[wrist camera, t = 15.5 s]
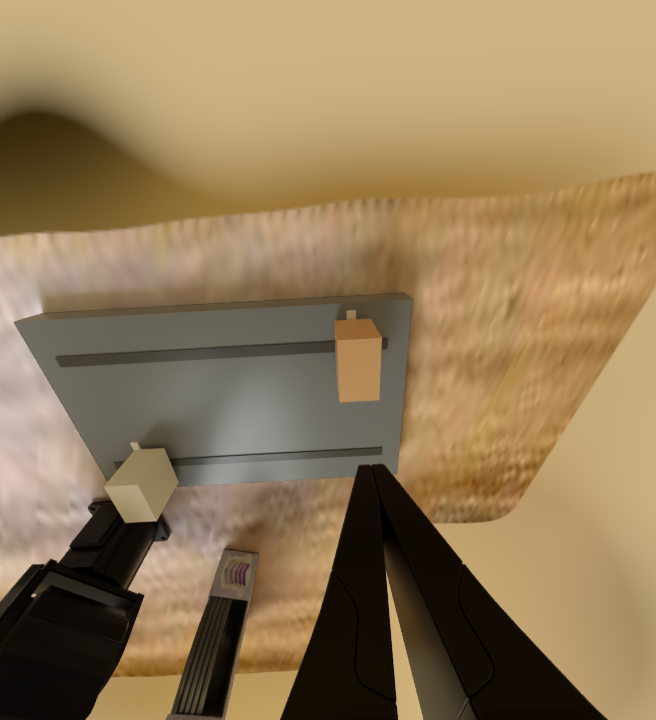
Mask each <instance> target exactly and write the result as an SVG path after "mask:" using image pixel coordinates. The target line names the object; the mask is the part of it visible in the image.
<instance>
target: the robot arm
mask: <svg viewBox="0 0 656 720" xmlns="http://www.w3.org/2000/svg"><path fill="white" fill-rule="evenodd" d="M88 510H89V511H90V513H91V514H92V518H91V519H90V520H89V521H88V523H87V524H86V525H85V526H84V528H83V529H82V530H81V531H80V533H79V534H78V535H77V536H76V538H75V539H74V540H73V541H72V543H71V544H70V549H69V550H68V552H67V553H66V554H65V555H64V557H63V558H62V559H61V560H60V562H59V563H56V562H57V561H55V560H53V559H50V560H49V561H48V562H47V563H46V564H45V565H44V564H33V565H31V566H30V567H29V569H28V570H27V571H26V572H25V573H24V574H23V576H22V577H21V578H20V579H19V580H18V581H17V582H16V584H15V585H14V586H13V587H12V588H11V589H10V591H9V592H8V593H7V594H6V595H5V597H4V598H3V599H2V600H1V601H0V720H85V719H86V718H87V717H88V716H89V714H90V713H91V711H92V709H93V707H94V705H95V702H96V699H97V697H98V695H99V693H100V692H101V691H102V689H103V688H104V687H105V685H106V684H107V682H108V681H109V679H110V677H111V676H112V674H113V672H114V671H115V669H116V667H117V665H118V663H119V661H120V659H121V657H122V655H123V652H124V650H125V647H126V645H127V642H128V639H129V636H130V634H131V631H132V628H133V625H134V623H135V620H136V617H137V615H138V612H139V609H140V606H141V604H142V601H143V598H144V595H143V594H141V593H138V594H137V593H134V592H132V591H129V590H128V588H129V586H130V584H131V583H132V581H133V579H134V577H135V575H136V573H137V571H138V570H139V568H140V566H141V564H142V562H143V560H144V558H145V557H146V555H147V553H148V551H149V549H150V547H151V545H152V544H153V542H156V541H167V540H168V538H169V536H170V534H169V532H168V530H167V528H166V526H165V524H164V522H163V520H162V518H161V516H159V518H158V520H157V521H151V522H132V523H125V521H124V520H123V518H122V516H121V515H120V513H119V512H118V510H117V508H116V507H115V505H114V503H113V502H112V501H107V502H93V503H91V504H90V505H89V507H88ZM462 563H463V562H462V560H461V559H460V558H459V557H458V555H457V554H456V553H455V552H454V550H453V549H452V548H451V547H450V545H449V544H448V543H447V542H446V540H445V539H444V538H443V537H442V535H441V534H440V533H439V532H438V530H437V529H436V528H435V527H434V525H433V524H432V523H431V522H430V520H429V519H428V518H427V517H426V515H425V514H424V513H423V512H422V510H421V509H420V508H419V507H418V506H417V504H416V503H415V502H414V501H413V499H412V498H411V497H410V496H409V494H408V493H407V492H406V491H405V489H404V488H403V487H402V486H401V484H400V483H399V482H398V481H397V479H396V478H395V477H394V476H393V474H392V473H391V472H390V471H389V469H388V468H387V467H386V466H385V465H384V464H382V463H380V464H372V465H370V464H361V465H359V466H358V468H357V472H356V476H355V480H354V484H353V488H352V492H351V496H350V499H349V503H348V507H347V511H346V515H345V519H344V523H343V527H342V531H341V535H340V539H339V543H338V547H337V550H336V554H335V558H334V562H333V566H332V571H331V573H330V577H329V581H328V585H327V589H326V592H325V596H324V599H323V603H322V606H321V610H320V613H319V616H318V619H317V621H316V624H315V627H314V630H313V633H312V636H311V639H310V641H309V644H308V647H307V649H306V652H305V655H304V657H303V660H302V663H301V665H300V668H299V671H298V674H297V676H296V679H295V681H294V684H293V687H292V689H291V692H290V695H289V697H288V700H287V703H286V706H285V708H284V711H283V714H282V716H281V718H280V720H398V714H397V705H396V690H395V677H394V665H393V653H392V641H391V629H390V617H389V605H388V593H387V581H386V572H387V576H388V579H389V584H390V588H391V592H392V596H393V600H394V604H395V608H396V612H397V616H398V619H399V623H400V627H401V632H402V636H403V639H404V643H405V647H406V651H407V655H408V659H409V663H410V667H411V671H412V675H413V679H414V683H415V687H416V691H417V695H418V699H419V703H420V707H421V711H422V715H423V719H424V720H608V719H607V718H606V717H604V716H603V715H602V714H601V713H600V712H599V711H598V710H597V709H596V708H595V707H594V706H593V705H592V704H591V703H590V702H589V701H588V700H587V699H586V698H585V697H584V696H583V695H582V694H581V693H580V692H579V690H578V689H577V688H576V687H575V686H574V685H573V684H572V683H571V682H570V681H569V680H568V679H567V678H566V677H565V676H564V674H563V673H562V672H561V671H560V670H559V669H558V668H557V667H556V666H555V665H554V664H553V663H552V662H551V661H550V660H549V659H548V658H547V656H546V655H545V654H544V653H543V652H542V651H541V650H540V649H539V648H538V647H537V646H536V645H535V644H534V643H533V642H532V641H531V639H530V638H529V637H528V636H527V635H526V634H525V633H524V632H523V631H522V630H521V629H520V628H519V627H518V626H517V624H515V622H514V621H513V620H512V619H511V618H510V617H509V616H508V615H507V613H506V612H505V611H504V610H503V609H502V608H501V607H500V606H499V605H498V604H497V602H496V601H495V600H494V599H493V598H492V597H491V595H490V594H489V593H488V592H487V591H486V589H485V588H484V587H483V586H482V585H481V584H480V582H479V581H478V580H477V579H476V578H475V576H474V575H473V574H472V573H471V571H470V570H469V569H468V568H467V566H466V565H465V564H463V565H462ZM33 593H34V594H37V595H36V596H35V597H34V598H33V597H31V595H32V594H33Z"/></svg>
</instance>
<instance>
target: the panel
mask: <svg viewBox="0 0 656 720" xmlns="http://www.w3.org/2000/svg"><path fill="white" fill-rule="evenodd" d="M412 300H413V299H411V298H410V297H409V296H407V295H406V294H405V293H394V294H376V295H358V296H340V297H323V298H305V299H287V300H269V301H252V302H234V303H216V304H198V305H181V306H163V307H145V308H128V309H110V310H92V311H74V312H57V313H42V314H38V315H35V316H32V317H28V318H25V319H21V320H18V321H15V322H14V324H15V325H16V327H17V329H18V331H19V332H20V334H21V336H22V337H23V339H24V341H25V342H26V344H27V346H28V347H29V349H30V351H31V353H32V354H33V356H34V358H35V359H36V361H37V363H38V364H39V366H40V368H41V369H42V371H43V373H44V375H45V376H46V378H47V380H48V381H49V383H50V385H51V386H52V388H53V390H54V391H55V393H56V395H57V397H58V398H59V400H60V402H61V403H62V405H63V407H64V408H65V410H66V412H67V413H68V415H69V417H70V419H71V420H72V422H73V424H74V425H75V427H76V429H77V430H78V432H79V434H80V435H81V437H82V439H83V441H84V442H85V444H86V446H87V447H88V449H89V451H90V452H91V454H92V456H93V457H94V459H95V461H96V463H97V464H98V466H99V468H100V469H101V471H102V473H103V474H104V476H105V478H106V479H107V481H109V480H110V479H111V477H112V476H113V475H114V474H115V473H116V472H117V470H118V469H119V468H120V467H121V466H122V464H123V463H124V462H125V461H126V460H127V459H128V457H129V456H130V455H131V454H132V453H133V452H134V450H140V449H158V448H164V449H165V451H166V453H167V456H168V458H169V461H170V463H171V465H172V468H173V470H174V472H175V475H176V477H177V479H178V482H179V483H178V484H177V486H176V487H178V486H196V485H215V484H233V483H251V482H269V481H287V480H305V479H323V478H341V477H355V476H356V472H357V468H358V466H359V465H361V464H370V465H372V464H380V463H382V464H384V465H385V466H386V467H387V468H388V469H389V471H390V472H391V473H392V474H393V475H395V474H397V470H398V459H399V448H400V436H401V425H402V414H403V402H404V391H405V380H406V368H407V357H408V345H409V334H410V323H411V311H412ZM370 318H371V320H372V321H373V323H374V325H375V327H376V328H377V330H378V332H379V334H380V336H381V337H382V347H381V371H380V396H379V400H374V401H356V402H339V394H338V385H337V375H336V353H335V330H334V321H335V320H353V319H370Z"/></svg>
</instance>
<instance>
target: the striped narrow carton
mask: <svg viewBox="0 0 656 720" xmlns="http://www.w3.org/2000/svg"><path fill="white" fill-rule="evenodd" d="M258 556H259V554H258V553H252V552H244V551H237V550H228V549H224V550H223V554H222V556H221V559H220V562H219V565H218V568H217V571H216V574H215V578H214V581H213V584H212V587H211V590H210V593H209V597H208V602H207V605H206V608H205V610H204V613H203V616H202V618H201V621H200V624H199V627H198V629H197V632H196V635H195V638H194V641H193V644H192V647H191V650H190V653H189V656H188V659H187V662H186V665H185V668H184V672H183V675H182V678H181V681H180V684H179V688H178V691H177V694H176V697H175V700H174V704H173V708H172V711H171V714H169V715H168V716H167V718H166V720H225V717H226V712H227V708H228V703H229V699H230V694H231V689H232V685H233V680H234V676H235V671H236V667H237V662H238V657H239V653H240V648H241V644H242V639H243V635H244V630H245V626H246V621H247V616H248V612H249V607H250V601H251V596H252V590H253V584H254V579H255V573H256V567H257V561H258Z"/></svg>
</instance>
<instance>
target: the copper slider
mask: <svg viewBox="0 0 656 720" xmlns="http://www.w3.org/2000/svg"><path fill="white" fill-rule="evenodd" d="M334 330H335V353H336V375H337V385H338V394H339V402H356V401H374V400H379V396H380V371H381V347H382V337H381V336H380V334H379V332H378V330H377V328H376V327H375V325H374V323H373V321H372V320H371V318H370V319H353V320H335V321H334Z"/></svg>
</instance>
